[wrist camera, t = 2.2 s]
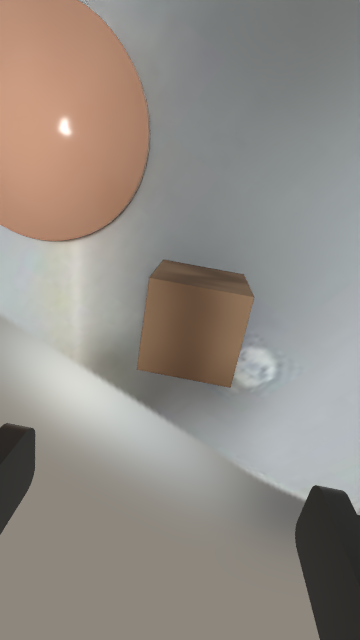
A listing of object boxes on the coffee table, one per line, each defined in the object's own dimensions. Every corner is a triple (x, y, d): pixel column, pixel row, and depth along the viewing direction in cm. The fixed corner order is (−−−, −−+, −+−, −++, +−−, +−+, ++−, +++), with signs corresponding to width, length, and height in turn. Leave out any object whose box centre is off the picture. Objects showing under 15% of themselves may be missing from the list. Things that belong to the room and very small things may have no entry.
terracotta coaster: (165, 15, 18) (162, 5, 18) (136, 254, 24) (133, 257, 23) (-68, -24, 19) (-83, -36, 18) (-47, 220, 24) (-58, 221, 23)
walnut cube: (243, 274, 23) (254, 297, 18) (225, 346, 26) (230, 387, 20) (163, 259, 24) (149, 277, 18) (152, 332, 26) (136, 369, 20)
